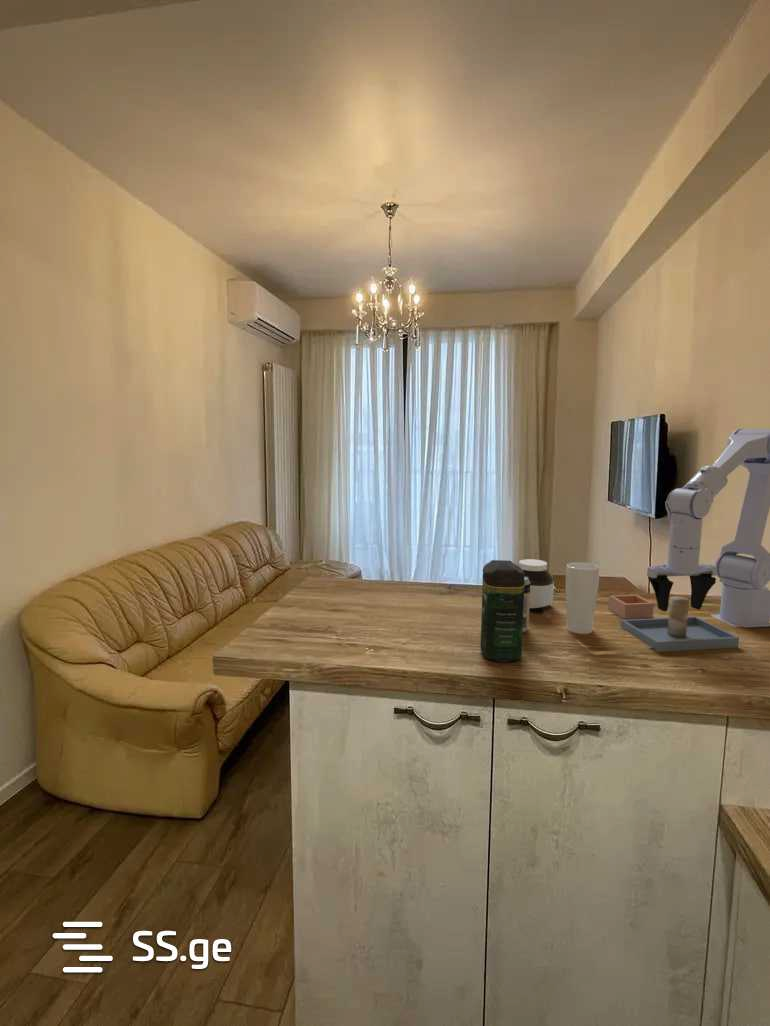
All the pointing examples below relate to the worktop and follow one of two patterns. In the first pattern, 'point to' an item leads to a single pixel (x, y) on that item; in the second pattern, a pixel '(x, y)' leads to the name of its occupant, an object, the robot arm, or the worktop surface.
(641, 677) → the worktop surface
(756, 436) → the robot arm
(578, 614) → the drinking glass
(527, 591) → the beer can
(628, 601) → the salmon open box
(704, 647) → the slate tray
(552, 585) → the spread jar
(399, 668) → the worktop surface
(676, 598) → the ash peg
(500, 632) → the coffee jar
